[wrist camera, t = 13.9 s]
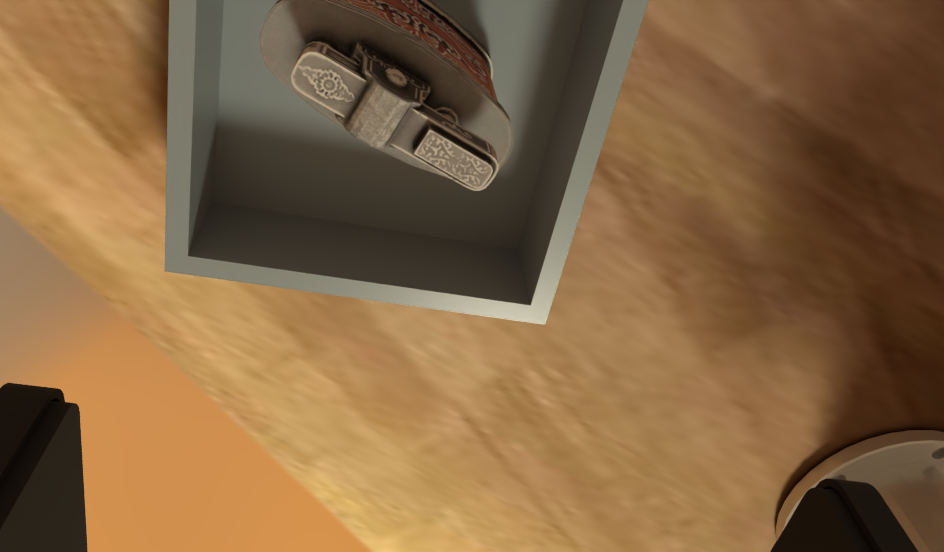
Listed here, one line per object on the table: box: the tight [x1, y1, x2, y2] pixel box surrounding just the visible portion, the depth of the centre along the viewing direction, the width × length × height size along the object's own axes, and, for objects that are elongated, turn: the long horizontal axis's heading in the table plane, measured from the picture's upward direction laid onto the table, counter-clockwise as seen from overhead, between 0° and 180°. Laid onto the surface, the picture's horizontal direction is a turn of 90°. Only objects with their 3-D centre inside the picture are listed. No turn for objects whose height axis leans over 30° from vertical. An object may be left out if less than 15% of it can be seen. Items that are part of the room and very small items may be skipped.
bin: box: [165, 0, 649, 325], centre depth 28 cm, size 19×15×5 cm
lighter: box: [259, 0, 514, 191], centre depth 25 cm, size 8×3×10 cm, turn 56°
